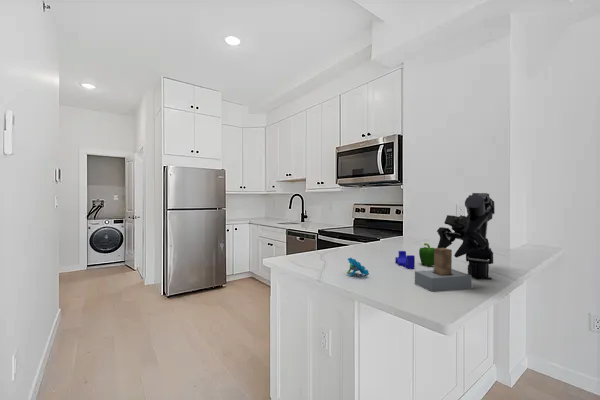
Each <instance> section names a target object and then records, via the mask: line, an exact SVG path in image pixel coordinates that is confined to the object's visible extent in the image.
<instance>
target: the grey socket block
mask: <svg viewBox="0 0 600 400" xmlns="http://www.w3.org/2000/svg"><path fill="white" fill-rule="evenodd" d="M472 281H473V278H472V275H469V274H468V273H465V272H462V271H459V270H456V269H453V268H451V275H446V276H440V275H438V274H435V273H434V269H433V270H432V269H431V270H430V269H429V270H417V271H415V270H414V284H415V285H417V286H420V287H421V288H423V289H426V290H428V291H430V292H433V293H434V292H444V291H454V290H455V291H456V290H467V289H469V288H470V289H472ZM470 289H469V290H470Z"/></svg>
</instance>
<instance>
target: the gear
mask: <svg viewBox="0 0 600 400" xmlns="http://www.w3.org/2000/svg"><path fill="white" fill-rule="evenodd" d="M347 261H348V263H349V269H348V270H347V272H346V274H349V273H350V272H351V271H352V272H351V273H350V274H349V276H350V277H353V276H354V275H355V274H356V272H360V273H361V274H363V275H364V276H368V275H370V273H369V270H368V269H366V267H365V266H364V265H362V263H361V262H360V261H357V260H356V259H355V258H352V257H348V258H347Z"/></svg>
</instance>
